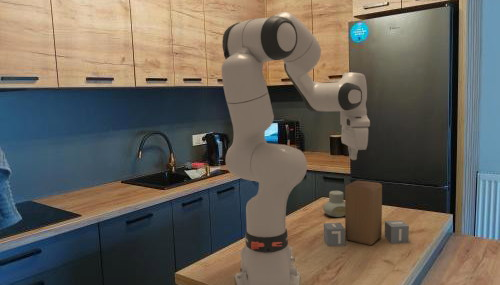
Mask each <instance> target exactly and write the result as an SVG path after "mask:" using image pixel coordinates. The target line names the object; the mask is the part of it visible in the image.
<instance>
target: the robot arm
mask: <svg viewBox="0 0 500 285" xmlns="http://www.w3.org/2000/svg"><path fill="white" fill-rule="evenodd" d="M221 41H222V44H221V45H222V50H223V56H224V58H225V60H224V61H223V62H222V65H221V79H222V85H223V91H224V92H223V93H224V96H225V101H226V105H227V108H228V111H229V115H230V121H231V124H232V129H233V139H232V144H231V145H230V147H229V148H228V149H227V151H226V154H225V159H224V160H225V165H226V169H227V170H228V172H229V173H230V174H232V175H234V176H236V177H238V178H240V179H242V180H244V181H245V180H247V181H252V182H258V191H257V194H256V195H254V196H253V197H251V198H250V199H249V200H248V201H247V203H246V206H245V216H246V217H245V218H246V220H245V221H246V222H245V223H246V229H245V232H244V233H245V234H244V240H245V241H244V242H245V245H244V246H243V247H242V249H240V271H239V272H237V273H236V274H234V281H235V284H236V285H301V272H300V271H298V267H297V266H296V265H295V266H293V264H294V263H293V262H295V261H296V260H295V259H296V258H295V257H296V256H293V247H292V246H290V245H289V240H288V239H289V234H288V230H287V226H286V222H287V221H286V220H287V218H286V216H287V214H286V213H287V202H288V199H289V195H290V194H291V192H292V191H293V189H294V187H296V186H298V185H299V184H300V183H301V182H302V181H303V179H304V178H305V176H306V174H307V170H308V162H307V161H308V160H307V158H306V156H305V154H304V152H303V151H302V150H301V149H299V148H296V147H292V146H290V145H287V144H279V143H270V142H269V143H268V142H267V140H266V136H265V133H266V131H267V130H268V129H270V127H271V125H272V124H273V122H274V120H275V119H274V118H275V116H274V111H273V107H272V103H271V98H270V94H269V90H268V87H267V86H268V85H267V83H266V80H265V79H266V78H265V76H264V74H263V70H264V69H263V68H264V63H267V62H272V61H280V60H282V62H283V68H284V72H285V73H286V76H287V78H289V80H290V82H291V83H292V85H293V86H294V87H295V89H296V90H297V92H298V93H299V94H300V96H301V98H302V100H303V103H304V105H305V106H306V108H307V110H309V111H310V112H312V113H318V112H319V113H320V112H321V113H322V112H339V113H340V114H339V115H340V118H339V121H340V123H339V124H340V126H341V134H340V136H341V137H340V140H341V144H343V145H346V146H347V150H348V154H349V159H351V161H356V160H357V159H358V153H359V152H358V151H363V150H364V151H365V150H367V147H368V143H369V127H370V126H371V121H370V119H369V117H368V115H367V114H368V110H367V106H366V103H367V100H368V86H367V79H366V75H365V74H363V73H361V72H358V71H357V72H355V71H347V72H344V73H343V74H342V77H341V79H340V80H337V81H333V82H317V81H314V80H313V79H312V77H311V76H310V74H309V73H310V72H311V71H312V70H314V68H315V67H316V66H317V65H318V63H319V61H320V59H321V55H322V48H321V45H320V43H319V40H317V38H316V37H315V35H313V32H311V31H310V29H309V28H308V27H307V26H306V25H305V24H304V23H303V22H302V21H301V20H300V19H298V17H296V16H295V15H294V14H292V13H290V12H288V11H281V12H278V13H276V14H275V15H273V16H269V17H262V18H261V17H260V18H259V17H257V18H252V19H247V20H245V21H242V22H236V23H234V24H232V25H230V26H228V27H227V28H226V29H225V31H224V32H223V36H222V40H221Z"/></svg>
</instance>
